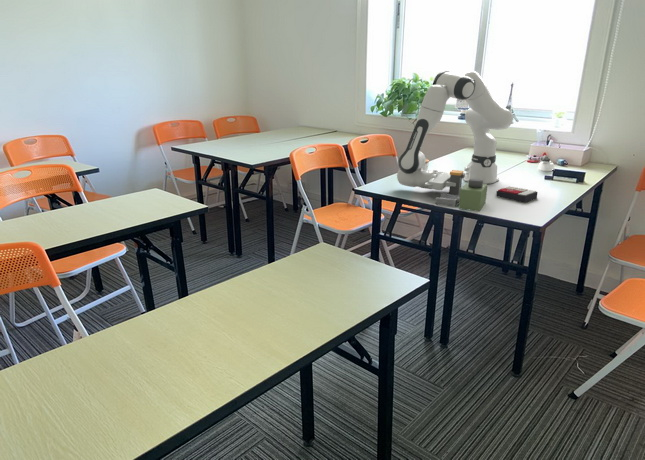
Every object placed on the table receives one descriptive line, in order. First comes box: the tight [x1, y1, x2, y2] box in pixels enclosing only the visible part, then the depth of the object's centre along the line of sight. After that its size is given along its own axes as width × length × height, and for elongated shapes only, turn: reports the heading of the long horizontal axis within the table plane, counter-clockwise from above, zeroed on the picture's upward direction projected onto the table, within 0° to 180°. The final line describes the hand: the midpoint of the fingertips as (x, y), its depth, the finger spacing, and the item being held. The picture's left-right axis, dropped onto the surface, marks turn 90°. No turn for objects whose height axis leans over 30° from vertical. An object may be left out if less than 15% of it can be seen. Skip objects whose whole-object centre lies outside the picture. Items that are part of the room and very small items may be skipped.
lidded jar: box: [424, 158, 430, 171], centre depth 272 cm, size 11×11×9 cm
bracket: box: [435, 192, 460, 207], centre depth 218 cm, size 9×9×3 cm
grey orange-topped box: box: [448, 169, 466, 195], centre depth 226 cm, size 6×5×12 cm
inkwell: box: [537, 154, 555, 172], centre depth 272 cm, size 9×18×10 cm, turn 149°
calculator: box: [495, 186, 538, 204], centre depth 225 cm, size 11×4×15 cm
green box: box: [458, 179, 488, 212], centre depth 212 cm, size 9×13×12 cm
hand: (457, 183), depth 226 cm, fingers closed on grey orange-topped box, 4 cm apart
